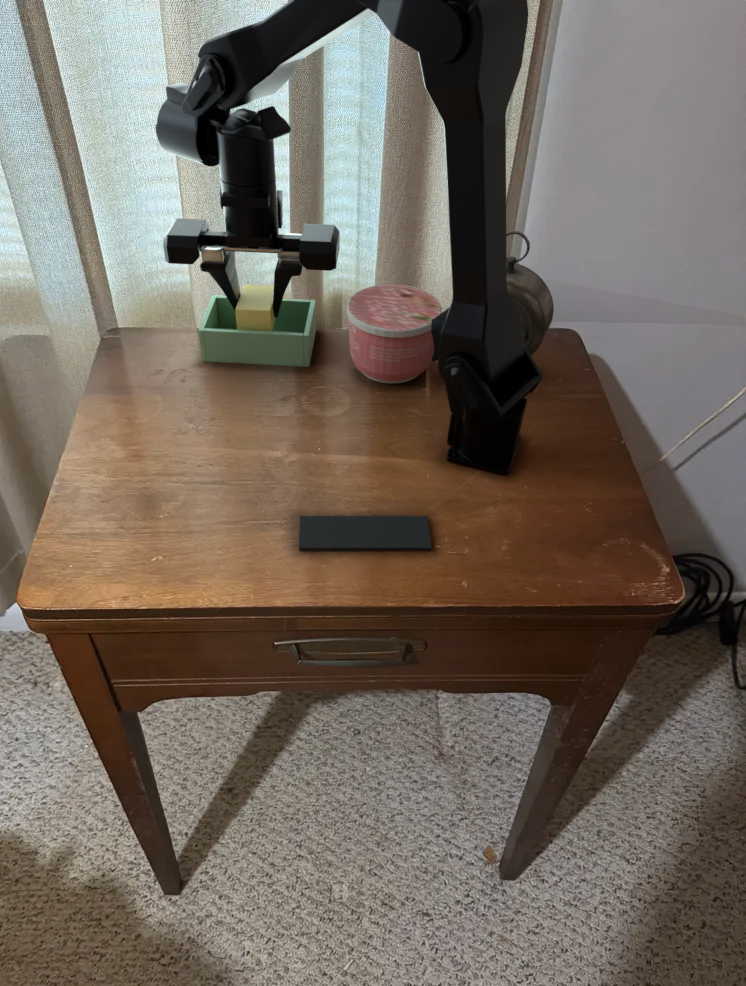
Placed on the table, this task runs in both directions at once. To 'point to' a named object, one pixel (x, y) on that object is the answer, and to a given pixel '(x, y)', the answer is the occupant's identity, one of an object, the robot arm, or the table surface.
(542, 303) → the alarm clock
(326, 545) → the desk mat
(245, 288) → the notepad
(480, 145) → the robot arm
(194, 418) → the table surface
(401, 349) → the container
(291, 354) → the storage box
